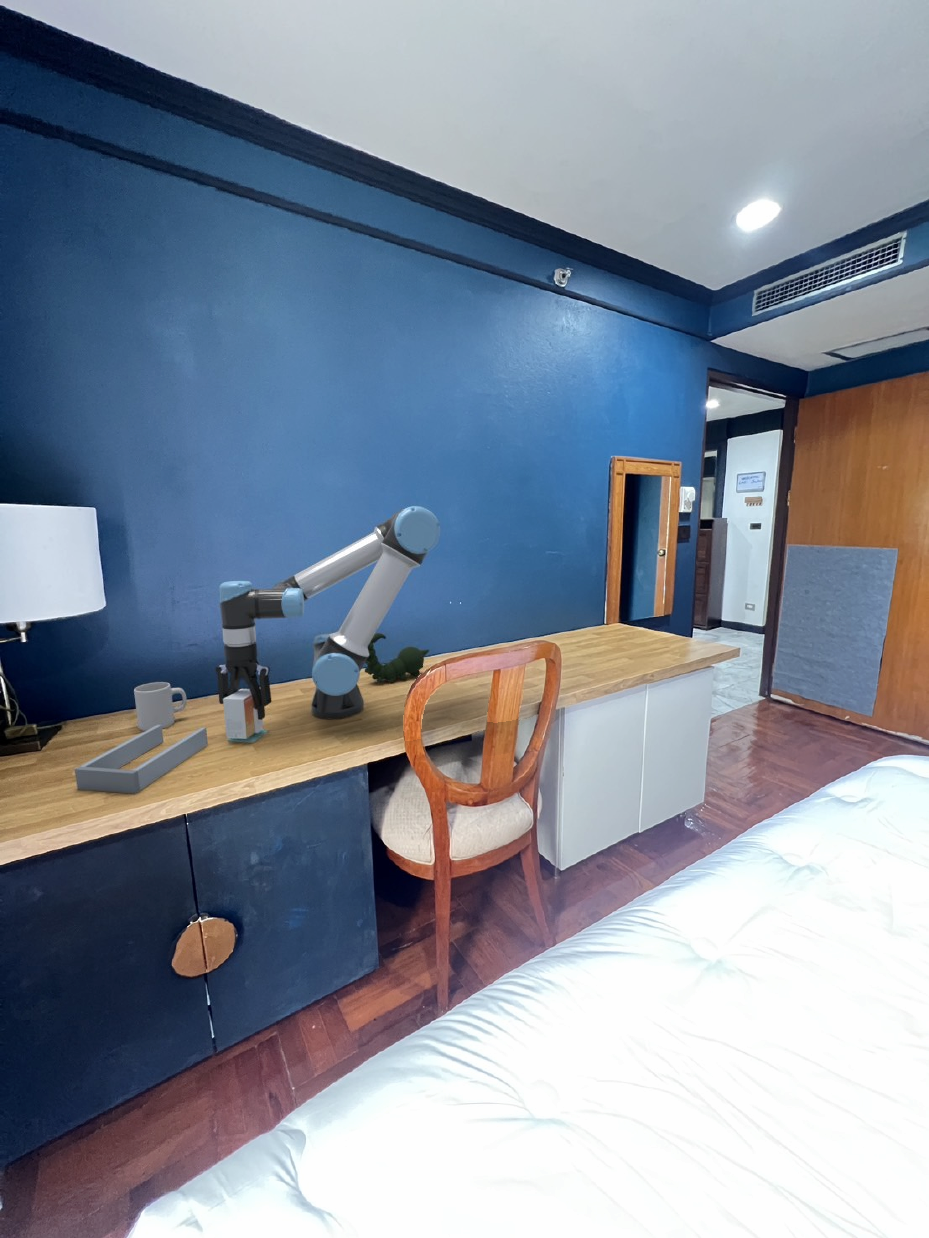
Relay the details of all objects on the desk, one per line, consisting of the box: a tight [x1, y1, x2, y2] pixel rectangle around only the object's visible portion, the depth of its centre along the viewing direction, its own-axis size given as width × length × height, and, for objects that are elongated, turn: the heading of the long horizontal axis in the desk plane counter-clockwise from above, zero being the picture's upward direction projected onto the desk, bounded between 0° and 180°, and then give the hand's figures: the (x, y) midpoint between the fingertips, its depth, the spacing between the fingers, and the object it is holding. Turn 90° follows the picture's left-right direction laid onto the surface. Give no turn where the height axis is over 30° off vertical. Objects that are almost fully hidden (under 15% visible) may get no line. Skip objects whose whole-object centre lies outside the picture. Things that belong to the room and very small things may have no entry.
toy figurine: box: [364, 632, 430, 684], centre depth 175 cm, size 9×19×25 cm
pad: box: [227, 729, 269, 744], centre depth 129 cm, size 7×7×1 cm
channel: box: [74, 725, 209, 795], centre depth 113 cm, size 13×23×4 cm, turn 172°
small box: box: [222, 688, 256, 739], centre depth 127 cm, size 8×6×10 cm
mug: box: [133, 681, 187, 732], centre depth 136 cm, size 12×8×11 cm
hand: (247, 729), depth 129 cm, fingers closed on small box, 6 cm apart
